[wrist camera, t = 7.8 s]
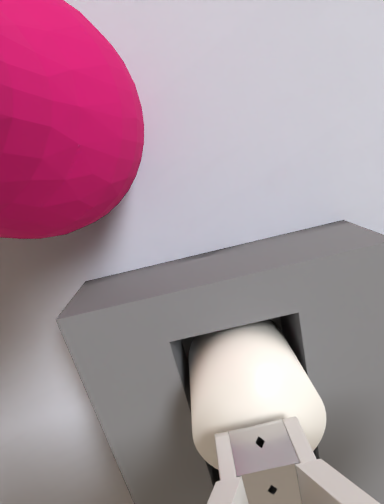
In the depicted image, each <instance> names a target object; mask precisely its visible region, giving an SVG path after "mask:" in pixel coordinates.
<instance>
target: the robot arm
mask: <svg viewBox="0 0 384 504" xmlns="http://www.w3.org/2000/svg"><path fill="white" fill-rule="evenodd" d="M215 446H216V453H217V461H218V468H219V476H220V481H217V482H216V483H215V485H214V488H213V490H212V492H211V495H210V497H209V500H208V502H207V504H380V503H379V502H377V501H376V500H375V499H374V498H372V497H371V496H370V495H368V494H367V493H366V492H364V491H363V490H362V489H360V488H359V487H358V486H356V485H355V484H354V483H352V482H351V481H350V480H349V479H347V478H346V477H345V476H343V475H342V474H341V473H339V472H338V471H337V470H335V469H334V468H333V467H331V466H330V465H329V464H328V463H326V462H325V461H324V460H322V459H316V457H315V455H314V452H313V450H312V448H311V446H310V444H309V442H308V440H307V437H306V435H305V433H304V431H303V429H302V427H301V425H300V422H299V420H298V418H297V417H296V416H294V417H290V418H285V419H282V420H281V419H280V420H276V421H272V422H267V423H263V424H259V425H255V426H252V427H247V428H242V429H237V430H231V431H229V432H228V431H227V432H222V433H217V434H215Z"/></svg>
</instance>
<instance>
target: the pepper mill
mask: <svg viewBox="0 0 384 504" xmlns="http://www.w3.org/2000/svg"><path fill="white" fill-rule="evenodd" d="M143 145H144V122H143V115H142V108H141V104H140V100H139V97H138V94H137V90H136V87H135V84H134V82H133V80H132V78H131V76H130V74H129V72H128V70H127V68H126V66H125V64H124V62H123V60H122V59H121V58H120V56H119V55H118V53H117V52H116V50H115V49H114V48H113V46H112V45H111V44H110V43H109V42H108V41H107V39H106V38H105V37H104V36H103V35H102V34H101V33H100V32H99V31H98V30H97V29H96V28H95V27H94V26H93V25H92V24H91V23H90V22H89V21H88V20H87V19H86V18H85V17H84V16H83V15H82V14H81V13H80V12H79V11H78V10H76V9H75V8H74V7H72V6H71V5H69V4H68V3H66V2H65V1H64V0H0V237H3V238H18V239H41V238H47V237H53V236H59V235H65V234H68V233H70V232H73V231H75V230H78V229H80V228H82V227H85V226H87V225H89V224H91V223H94V222H96V221H97V220H99V219H100V218H102V217H103V216H105V215H106V214H108V213H109V212H110V211H111V210H112V209H113V208H114V207H115V206H116V205H117V204H118V203H119V202H120V201H121V199H122V198H123V197H124V195H125V194H126V193H127V192H128V190H129V188H130V186H131V184H132V182H133V180H134V179H135V177H136V174H137V171H138V168H139V165H140V162H141V157H142V151H143Z"/></svg>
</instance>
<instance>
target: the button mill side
mask: <svg viewBox="0 0 384 504" xmlns="http://www.w3.org/2000/svg"><path fill="white" fill-rule="evenodd" d="M189 373H190V395H191V417H192V436H193V441H194V444H195V446H196V449H197V450H198V452H199V454H200V455H201V456H202V457H203V459H204V460H205V461H206V462H208V463H209V464H210V465H211V466H213V467H214V468H216V469H218V470H219V468H218V461H217V453H216V446H215V434H217V433H222V432H227V431H228V432H229V431H231V430H237V429H242V428H247V427H252V426H255V425H259V424H263V423H267V422H272V421H276V420H280V419H281V420H282V419H285V418H290V417H294V416H296V417H297V418H298V420H299V422H300V425H301V427H302V429H303V431H304V433H305V435H306V437H307V440H308V442H309V444H310V446H311V448H312V450H313V451H314V449H315V448H316V447H317V446H318V444H319V442H320V441H321V439H322V437H323V434H324V431H325V428H326V411H325V406H324V404H323V401H322V399H321V398H320V396H319V394H318V393H317V391H316V389H315V388H314V386H313V384H312V382H311V381H310V379H309V377H308V376H307V374H306V372H305V371H304V369H303V367H302V366H301V364H300V362H299V361H298V359H297V357H296V355H295V354H294V352H293V350H292V349H291V347H290V345H289V344H288V342H287V340H286V339H285V337H284V335H283V334H282V332H281V330H280V329H279V328H278V327H277V326H276V325H275V324H274V323H273V322H272V321H270V320H269V319H268V320H263V321H259V322H255V323H250V324H246V325H242V326H237V327H233V328H228V329H224V330H220V331H215V332H211V333H207V334H202V335H198V336H195V338H194V339H193V341H192V344H191V346H190V350H189Z"/></svg>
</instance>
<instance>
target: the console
mask: <svg viewBox="0 0 384 504" xmlns="http://www.w3.org/2000/svg"><path fill="white" fill-rule="evenodd" d="M268 319H269V320H270V321H272V322H273V323H274V324H275V325H276V326H277V327H278V328H279V329H280V330H281V332H282V334H283V335H284V337H285V339H286V340H287V342H288V344H289V345H290V347H291V349H292V350H293V352H294V354H295V355H296V357H297V359H298V361H299V362H300V364H301V366H302V367H303V369H304V371H305V372H306V374H307V376H308V377H309V379H310V381H311V382H312V384H313V386H314V388H315V389H316V391H317V393H318V394H319V396H320V398H321V399H322V401H323V404H324V406H325V411H326V428H325V431H324V434H323V437H322V439H321V441H320V442H319V444H318V446H317V447H316V448H315V449H314V451H313V452H314V455H315V457H316V459H322V460H324V461H325V462H326V463H328V464H329V465H330V466H331V467H333V468H334V469H335V470H337V471H338V472H339V473H341V474H342V475H343V476H345V477H346V478H347V479H349V480H350V481H351V482H352V483H354V484H355V485H356V486H358V487H359V488H360V489H362V490H363V491H364V492H366V493H367V494H368V495H370V496H371V497H372V498H374V499H375V500H376V501H377V502H379V503H380V504H384V235H382V234H380V233H377V232H374V231H372V230H369V229H366V228H363V227H361V226H358V225H355V224H353V223H350V222H347V221H344V220H342V221H337V222H333V223H329V224H325V225H321V226H317V227H312V228H308V229H304V230H300V231H296V232H291V233H287V234H283V235H279V236H275V237H270V238H266V239H262V240H258V241H254V242H249V243H245V244H241V245H237V246H233V247H228V248H224V249H220V250H216V251H212V252H207V253H203V254H199V255H195V256H191V257H186V258H182V259H178V260H174V261H170V262H165V263H161V264H157V265H153V266H149V267H144V268H140V269H136V270H132V271H128V272H123V273H119V274H115V275H111V276H107V277H102V278H98V279H94V280H90V281H86V282H85V283H84V284H83V285H82V287H81V288H80V289H79V290H78V292H77V293H76V294H75V296H74V297H73V298H72V300H71V301H70V302H69V303H68V305H67V306H66V307H65V309H64V310H63V311H62V312H61V314H60V315H59V316H58V318H57V319H56V322H57V324H58V326H59V329H60V331H61V333H62V336H63V338H64V340H65V343H66V345H67V347H68V350H69V352H70V354H71V357H72V359H73V361H74V364H75V366H76V368H77V371H78V373H79V376H80V378H81V380H82V383H83V385H84V387H85V390H86V392H87V394H88V397H89V399H90V401H91V404H92V406H93V408H94V411H95V413H96V415H97V418H98V420H99V422H100V425H101V427H102V429H103V432H104V434H105V436H106V439H107V441H108V443H109V446H110V448H111V450H112V453H113V455H114V457H115V460H116V462H117V464H118V467H119V469H120V471H121V474H122V476H123V478H124V481H125V483H126V485H127V488H128V490H129V492H130V495H131V497H132V500H133V502H134V504H207V502H208V500H209V497H210V495H211V492H212V490H213V488H214V485H215V483H216V482H217V481H220V478H219V470H218V469H216V468H214V467H213V466H211V465H210V464H209V463H208V462H206V461H205V460H204V459H203V457H202V456H201V455H200V454H199V452H198V450H197V449H196V446H195V444H194V441H193V436H192V417H191V395H190V373H189V350H190V346H191V344H192V341H193V339H194V338H195V336H198V335H202V334H207V333H211V332H215V331H220V330H224V329H228V328H233V327H237V326H242V325H246V324H250V323H255V322H259V321H263V320H268Z"/></svg>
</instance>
